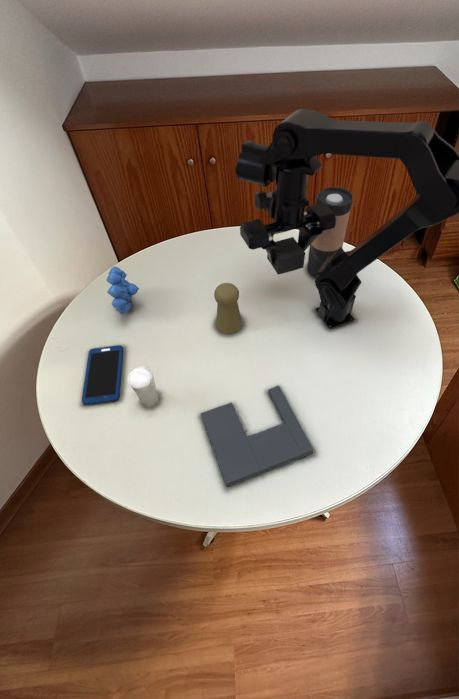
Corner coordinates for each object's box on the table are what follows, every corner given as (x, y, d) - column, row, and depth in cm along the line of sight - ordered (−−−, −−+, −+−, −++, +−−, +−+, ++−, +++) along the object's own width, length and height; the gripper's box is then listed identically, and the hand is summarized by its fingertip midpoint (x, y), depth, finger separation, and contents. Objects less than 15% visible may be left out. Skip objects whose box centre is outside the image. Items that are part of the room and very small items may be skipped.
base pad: (278, 389, 72) (278, 385, 71) (312, 453, 64) (313, 449, 63) (201, 416, 70) (200, 413, 68) (226, 487, 61) (226, 484, 60)
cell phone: (123, 346, 81) (122, 344, 81) (119, 400, 73) (118, 398, 72) (90, 350, 81) (89, 348, 80) (82, 405, 72) (80, 403, 72)
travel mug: (339, 279, 91) (357, 205, 75) (307, 280, 91) (319, 206, 75) (334, 260, 95) (349, 185, 80) (304, 261, 96) (314, 187, 80)
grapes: (145, 324, 85) (131, 285, 76) (115, 328, 85) (98, 290, 75) (145, 290, 92) (132, 251, 83) (118, 294, 92) (102, 254, 83)
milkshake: (155, 416, 70) (142, 388, 62) (134, 403, 72) (119, 375, 64) (169, 398, 73) (159, 369, 65) (149, 386, 74) (136, 357, 67)
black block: (291, 251, 83) (293, 236, 80) (303, 267, 80) (305, 252, 76) (267, 258, 82) (267, 243, 79) (278, 275, 79) (279, 259, 76)
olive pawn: (239, 335, 81) (237, 300, 73) (213, 332, 82) (208, 297, 74) (244, 316, 85) (243, 279, 76) (219, 313, 86) (215, 277, 77)
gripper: (316, 161, 74) (307, 229, 86) (228, 182, 71) (232, 249, 83) (344, 187, 67) (330, 256, 80) (249, 211, 64) (250, 279, 77)
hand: (285, 259), depth 80 cm, fingers closed on black block, 6 cm apart
